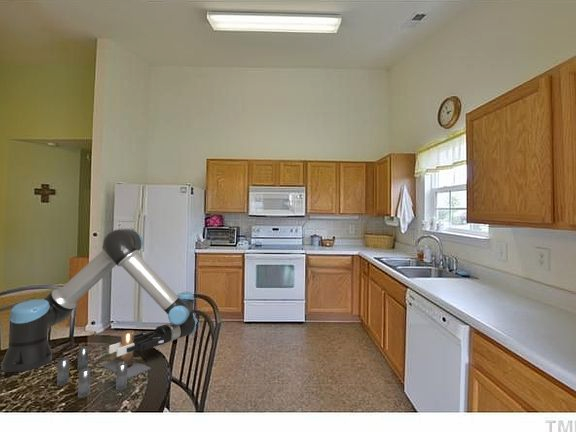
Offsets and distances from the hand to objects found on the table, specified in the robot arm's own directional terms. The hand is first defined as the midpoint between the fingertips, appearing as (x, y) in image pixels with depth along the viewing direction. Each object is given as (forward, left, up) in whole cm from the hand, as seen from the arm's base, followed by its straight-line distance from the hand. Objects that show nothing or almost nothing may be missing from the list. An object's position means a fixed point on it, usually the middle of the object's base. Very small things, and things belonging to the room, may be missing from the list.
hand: (113, 351), depth 115 cm
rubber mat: (0, +5, -8) cm, 10 cm away
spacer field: (0, -9, -8) cm, 12 cm away
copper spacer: (0, +5, -7) cm, 8 cm away
